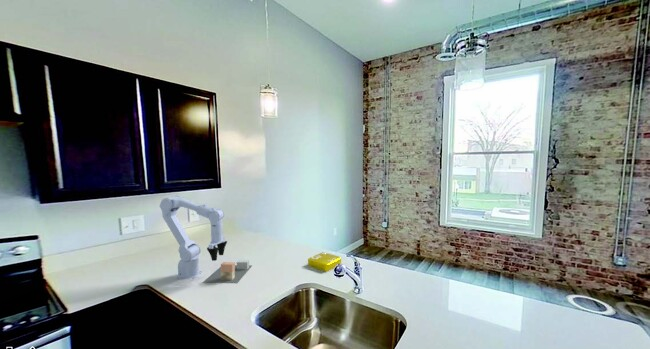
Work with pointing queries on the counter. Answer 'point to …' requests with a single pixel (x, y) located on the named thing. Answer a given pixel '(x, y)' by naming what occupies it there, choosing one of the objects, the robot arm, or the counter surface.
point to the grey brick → (243, 264)
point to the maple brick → (227, 275)
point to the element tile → (324, 261)
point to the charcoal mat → (217, 279)
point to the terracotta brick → (227, 266)
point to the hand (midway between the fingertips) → (217, 257)
